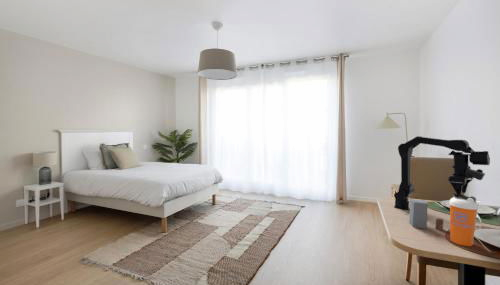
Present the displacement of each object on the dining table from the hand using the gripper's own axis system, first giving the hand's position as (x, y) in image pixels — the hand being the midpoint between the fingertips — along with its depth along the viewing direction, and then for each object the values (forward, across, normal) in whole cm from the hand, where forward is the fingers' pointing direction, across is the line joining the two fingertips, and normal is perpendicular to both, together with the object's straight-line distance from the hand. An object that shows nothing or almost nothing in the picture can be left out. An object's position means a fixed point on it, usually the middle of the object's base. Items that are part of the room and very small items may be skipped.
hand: (461, 194), depth 120 cm
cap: (+14, -24, +12) cm, 30 cm away
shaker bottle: (+15, -29, -6) cm, 33 cm away
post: (+14, -20, +4) cm, 25 cm away
